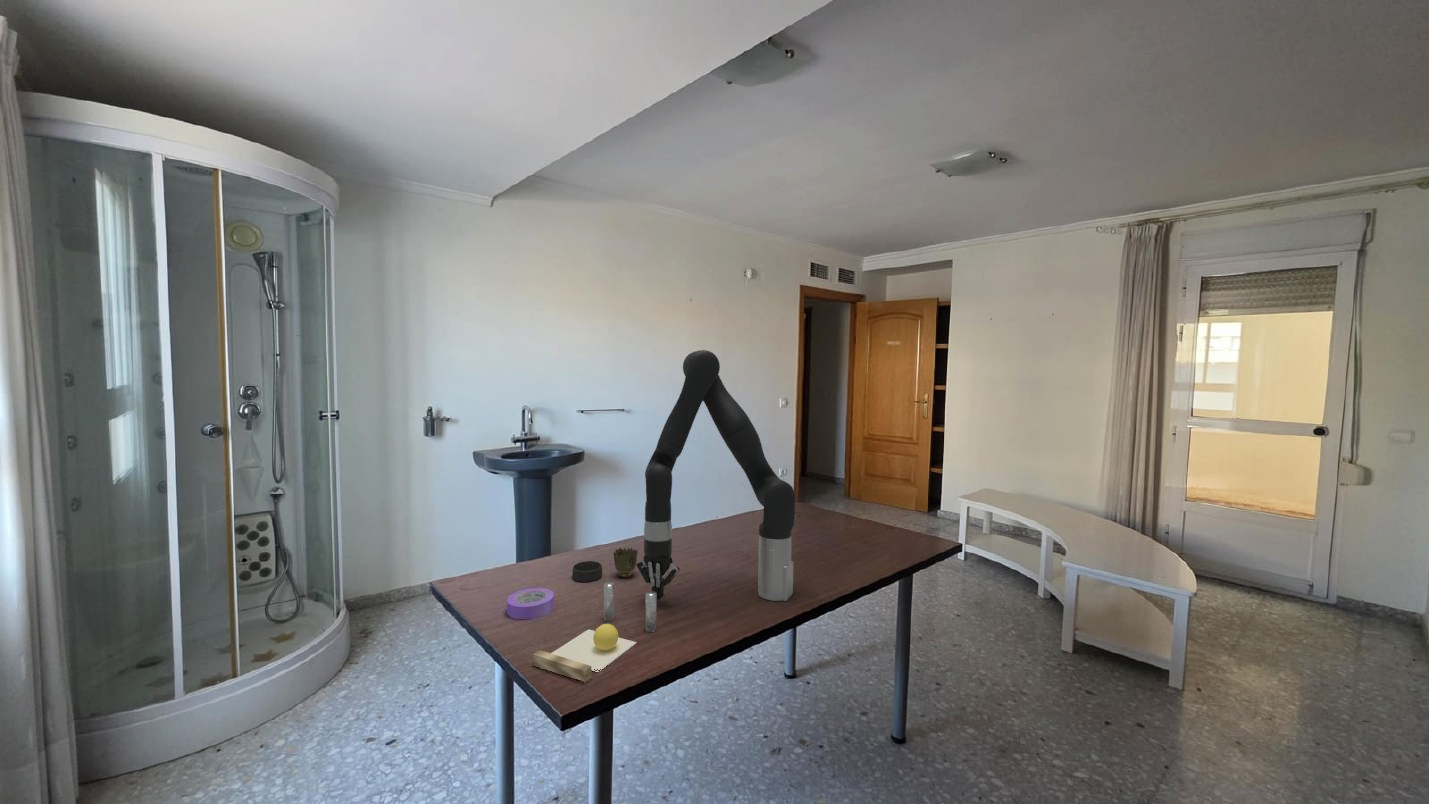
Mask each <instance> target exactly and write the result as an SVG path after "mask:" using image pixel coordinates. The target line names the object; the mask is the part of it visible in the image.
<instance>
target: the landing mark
mask: <svg viewBox="0 0 1429 804" xmlns="http://www.w3.org/2000/svg"><path fill="white" fill-rule="evenodd" d="M595 631H596V630H592V629H587V630H585V631H583V632H582V633H581V634H579V635H578V636H576V637H574V638H573V639H571V640H570V641H569V642H566V643H565V644H563V645H561V646H560V647H558V648H557V649H556V650H554V651H552V652H550V653H551V654H554V655H557V656H561V657H564V658H567V659H570V660H573V661H577V662H580V663H583V664H586V665H589V666H591V670H592V671H595V670H597V669H598V670H600V669H601V670H600V672H601V671H603V670H605V668H606V666H607V665H608V666H609V665H610V664H612V663H613V662H614V661H616V660H617V659H618V658H620V657H621V656H622V655H624V654H625V653H626V652H627V651H629V650H630V649H631V648H632V647H634V646H635V645H637V641H633V640H628V639H626V638H622V637H620V636H618V641H617V643H616V645H615V646H614V647H613V648H612V649H610V650H607V651H603V650H600V649H598V648H597V647H596V646H595V644H594V640H593V637H594V633H595ZM608 666H607V667H608ZM594 669H595V670H594ZM602 669H603V670H602ZM598 670H597V671H595V672H599V671H598ZM592 671H591V672H592ZM595 672H594V673H595ZM600 672H599V673H600Z"/></svg>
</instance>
